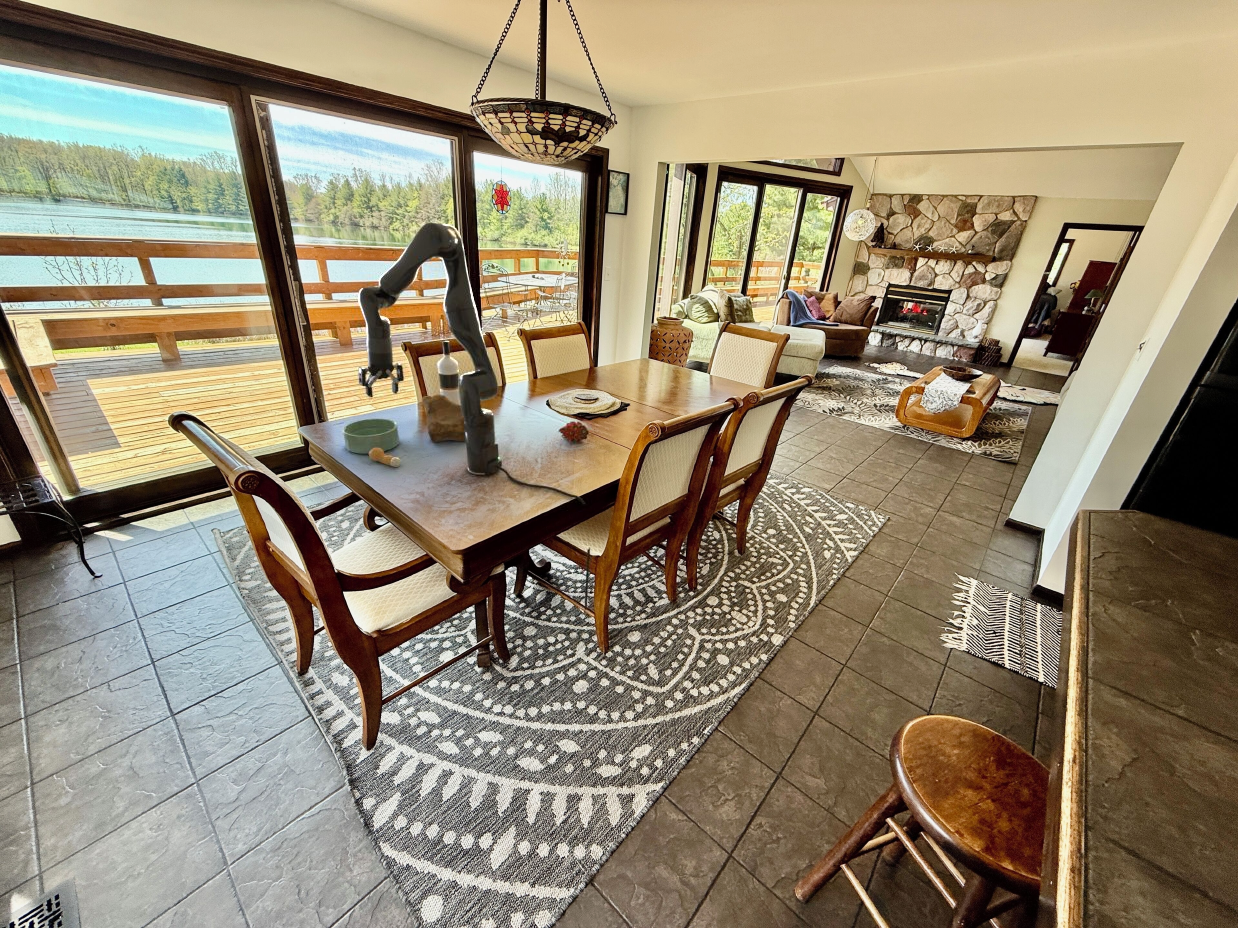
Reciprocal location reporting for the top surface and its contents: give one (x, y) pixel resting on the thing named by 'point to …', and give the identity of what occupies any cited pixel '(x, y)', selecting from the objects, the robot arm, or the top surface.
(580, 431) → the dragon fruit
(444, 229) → the robot arm
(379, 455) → the drumstick
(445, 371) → the vodka
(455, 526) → the top surface
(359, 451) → the green pet bowl
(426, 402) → the rough brown rock
